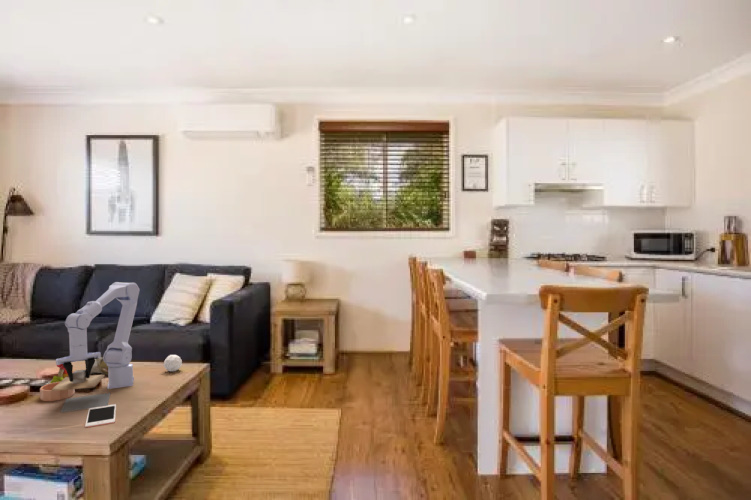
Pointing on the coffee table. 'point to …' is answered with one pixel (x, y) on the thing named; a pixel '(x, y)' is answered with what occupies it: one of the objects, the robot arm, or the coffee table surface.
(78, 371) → the oak lid
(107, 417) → the cell phone
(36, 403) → the coffee table surface
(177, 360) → the geometric ball
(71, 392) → the terracotta bowl
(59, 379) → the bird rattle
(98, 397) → the rubber mat
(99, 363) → the ceramic sculpture
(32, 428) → the coffee table surface
